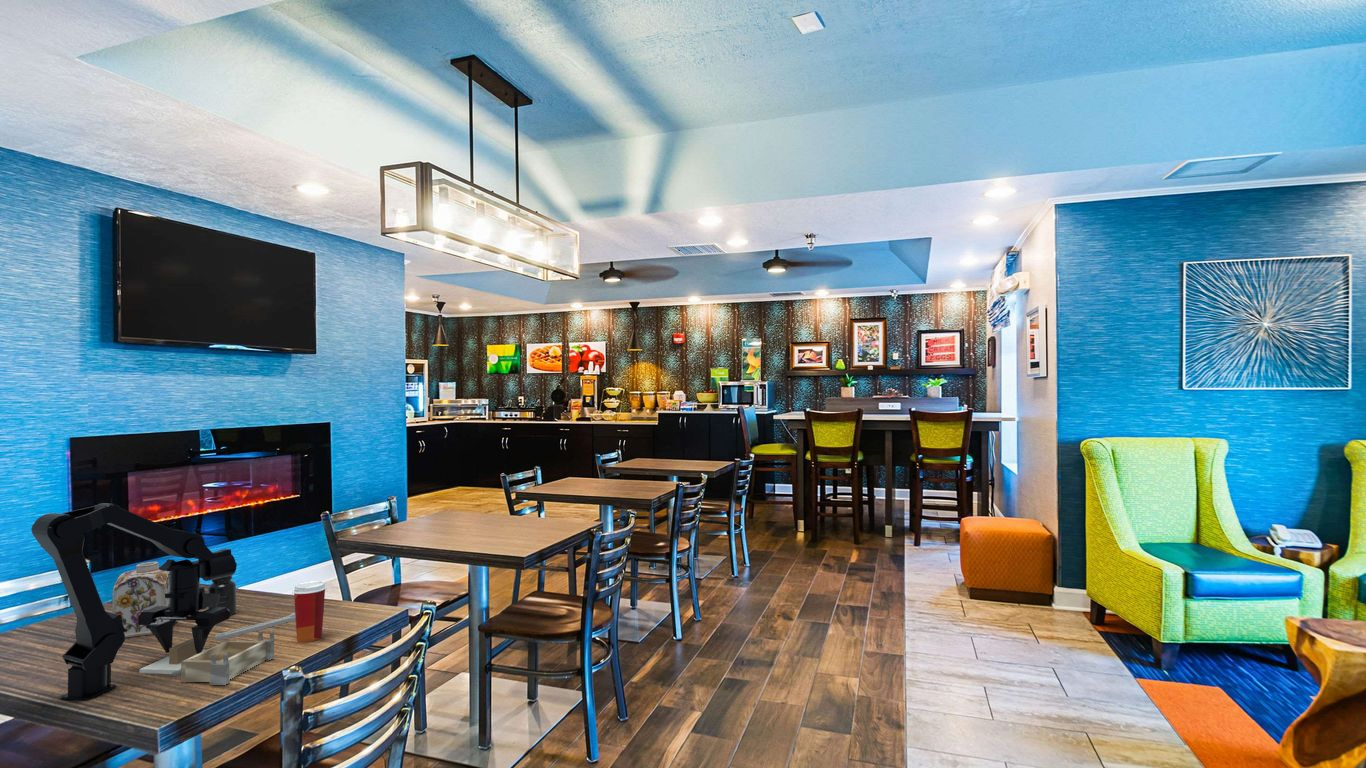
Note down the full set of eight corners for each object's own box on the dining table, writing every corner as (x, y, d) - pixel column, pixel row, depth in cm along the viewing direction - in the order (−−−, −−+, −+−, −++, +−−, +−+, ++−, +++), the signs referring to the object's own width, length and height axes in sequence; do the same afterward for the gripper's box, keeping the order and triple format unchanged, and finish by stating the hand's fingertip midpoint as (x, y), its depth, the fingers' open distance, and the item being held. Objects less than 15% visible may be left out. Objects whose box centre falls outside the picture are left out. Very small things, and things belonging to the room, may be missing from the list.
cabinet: (229, 657, 160) (230, 630, 160) (273, 658, 159) (274, 631, 159) (176, 684, 145) (177, 654, 145) (225, 685, 144) (225, 655, 144)
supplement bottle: (212, 612, 194) (212, 571, 195) (239, 610, 197) (239, 569, 197) (203, 620, 188) (203, 577, 188) (231, 617, 190) (231, 575, 190)
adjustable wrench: (217, 643, 171) (217, 636, 171) (210, 637, 175) (210, 630, 176) (320, 618, 190) (320, 611, 190) (312, 613, 194) (312, 607, 194)
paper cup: (318, 631, 178) (319, 578, 178) (331, 637, 173) (331, 583, 173) (286, 639, 172) (287, 585, 172) (298, 646, 167) (299, 590, 167)
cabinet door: (188, 652, 165) (188, 632, 165) (226, 652, 164) (226, 633, 164) (134, 676, 150) (135, 655, 150) (176, 677, 149) (176, 656, 149)
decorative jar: (164, 634, 177) (165, 566, 177) (110, 640, 172) (111, 570, 173) (179, 620, 188) (180, 556, 188) (129, 626, 184) (129, 560, 184)
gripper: (246, 577, 165) (246, 641, 164) (176, 576, 166) (175, 639, 166) (211, 590, 154) (210, 658, 153) (136, 589, 155) (135, 656, 155)
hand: (183, 652), depth 157 cm, fingers open, 7 cm apart
